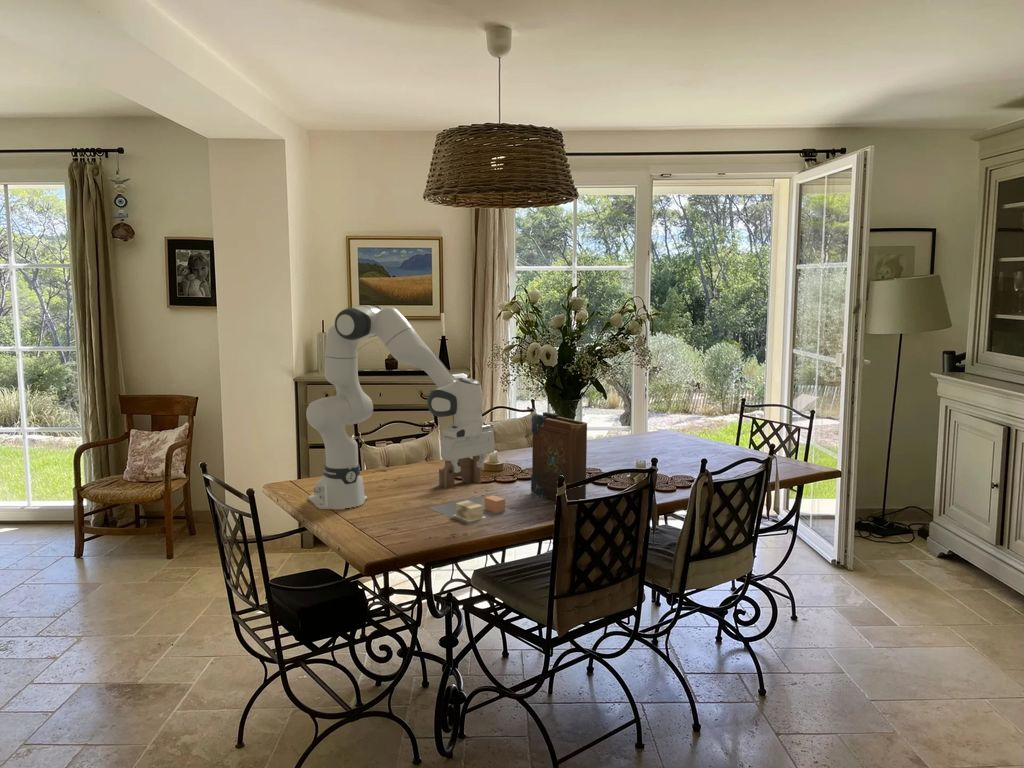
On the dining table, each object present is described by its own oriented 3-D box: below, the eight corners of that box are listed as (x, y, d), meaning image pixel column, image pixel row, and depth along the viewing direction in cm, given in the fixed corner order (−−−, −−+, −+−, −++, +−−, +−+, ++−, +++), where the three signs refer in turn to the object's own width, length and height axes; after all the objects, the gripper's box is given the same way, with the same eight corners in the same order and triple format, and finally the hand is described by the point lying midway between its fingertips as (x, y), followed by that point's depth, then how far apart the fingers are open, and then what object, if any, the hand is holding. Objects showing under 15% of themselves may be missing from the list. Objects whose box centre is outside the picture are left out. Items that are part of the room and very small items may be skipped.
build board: (428, 512, 256) (427, 507, 255) (473, 500, 269) (473, 496, 269) (469, 529, 239) (469, 524, 238) (516, 516, 252) (516, 511, 252)
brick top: (484, 508, 255) (484, 497, 254) (493, 506, 257) (493, 495, 257) (496, 512, 250) (496, 501, 250) (505, 510, 253) (505, 499, 252)
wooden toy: (446, 489, 284) (445, 424, 280) (439, 485, 290) (438, 421, 286) (482, 483, 292) (482, 420, 288) (474, 479, 297) (474, 417, 294)
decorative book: (530, 493, 278) (531, 414, 274) (545, 490, 283) (546, 411, 279) (574, 508, 260) (575, 423, 256) (589, 504, 265) (590, 421, 261)
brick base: (455, 514, 248) (455, 503, 247) (467, 511, 251) (467, 500, 251) (470, 520, 242) (470, 508, 241) (482, 517, 245) (482, 505, 245)
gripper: (487, 422, 252) (487, 462, 254) (437, 430, 238) (438, 472, 240) (499, 425, 247) (499, 466, 249) (449, 434, 233) (449, 477, 236)
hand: (468, 469), depth 244 cm, fingers open, 8 cm apart
